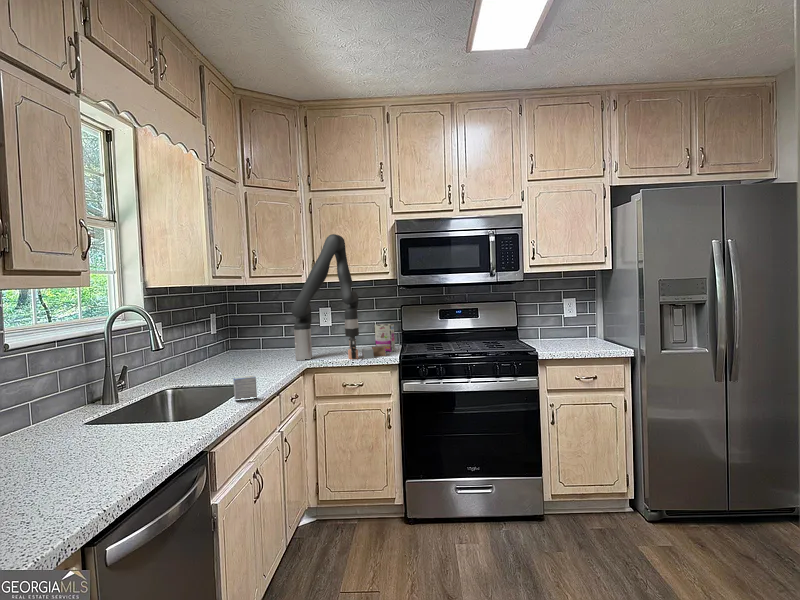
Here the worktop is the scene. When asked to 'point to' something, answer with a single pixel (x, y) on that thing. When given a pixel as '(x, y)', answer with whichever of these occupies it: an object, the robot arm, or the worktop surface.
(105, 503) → the worktop surface
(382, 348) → the walnut block
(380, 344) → the candy bar box
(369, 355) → the slate cube
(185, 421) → the worktop surface
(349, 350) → the terracotta cube
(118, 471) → the worktop surface
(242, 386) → the medicine box
